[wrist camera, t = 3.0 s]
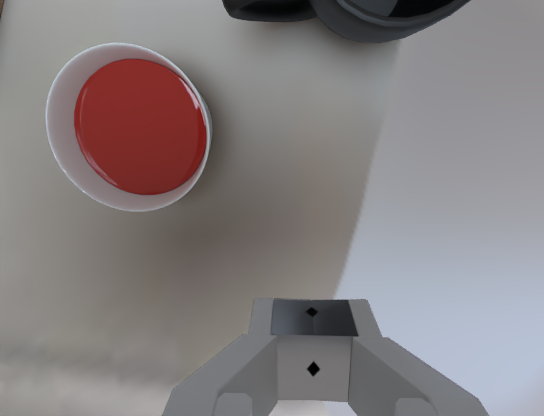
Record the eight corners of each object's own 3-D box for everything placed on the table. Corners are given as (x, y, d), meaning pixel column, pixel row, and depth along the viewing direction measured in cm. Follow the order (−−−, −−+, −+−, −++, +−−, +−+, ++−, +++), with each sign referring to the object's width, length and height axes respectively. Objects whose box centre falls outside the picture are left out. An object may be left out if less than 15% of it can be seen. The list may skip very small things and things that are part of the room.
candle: (113, 41, 23) (52, 19, 17) (241, 79, 24) (226, 71, 18) (96, 168, 26) (38, 187, 20) (212, 200, 26) (190, 229, 20)
